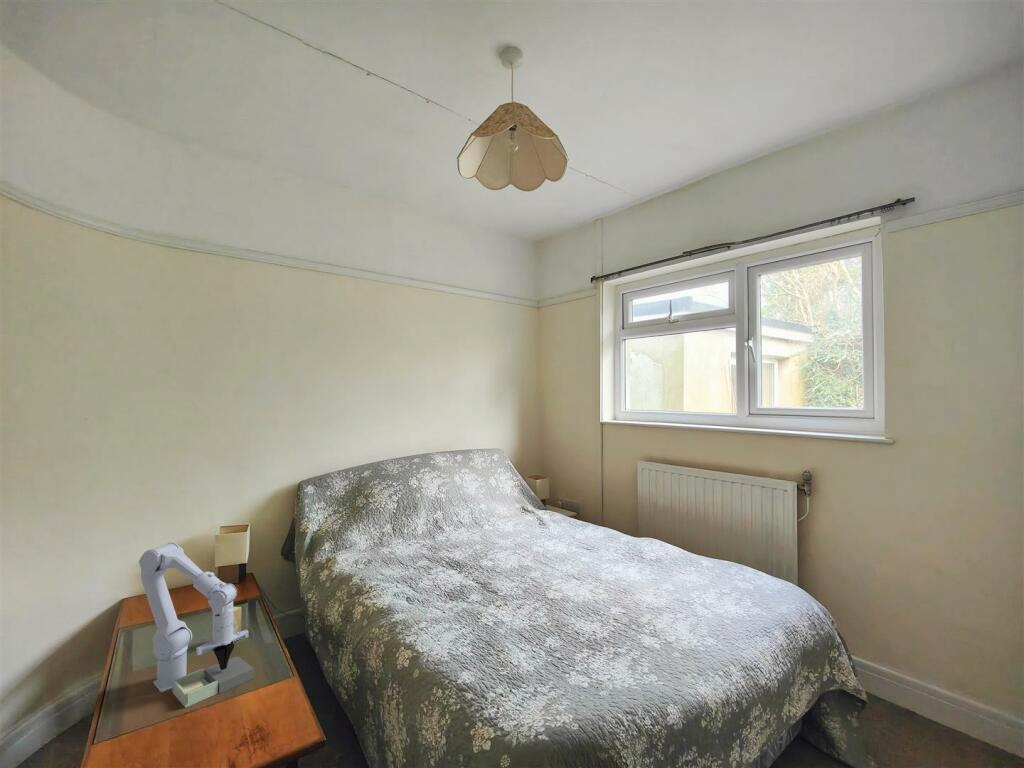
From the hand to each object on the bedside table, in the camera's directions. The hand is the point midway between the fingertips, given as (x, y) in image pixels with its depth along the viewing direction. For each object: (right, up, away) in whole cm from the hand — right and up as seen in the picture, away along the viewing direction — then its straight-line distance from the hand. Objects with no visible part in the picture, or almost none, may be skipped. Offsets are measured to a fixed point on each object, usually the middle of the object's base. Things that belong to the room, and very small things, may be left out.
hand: (223, 668), depth 146 cm
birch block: (-5, -2, -7) cm, 9 cm away
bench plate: (+1, -4, +1) cm, 4 cm away
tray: (-5, -4, -6) cm, 9 cm away
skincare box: (-14, -7, +26) cm, 31 cm away
